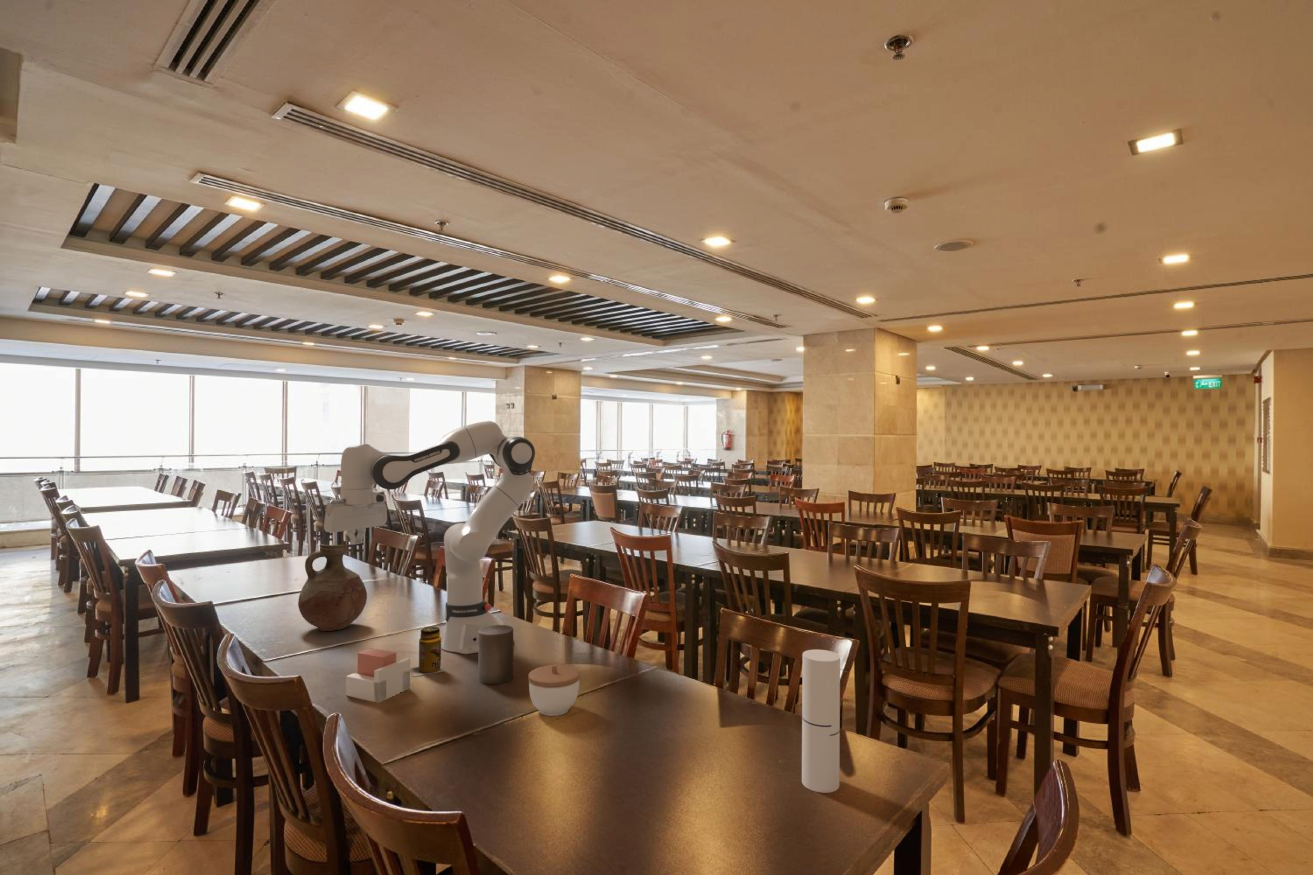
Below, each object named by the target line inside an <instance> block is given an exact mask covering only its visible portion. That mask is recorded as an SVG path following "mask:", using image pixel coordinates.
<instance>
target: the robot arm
mask: <svg viewBox="0 0 1313 875" xmlns="http://www.w3.org/2000/svg"><path fill="white" fill-rule="evenodd" d="M485 455H489V456H490V458H491V459H492V461H493V462H494V463H495V465H496V466H499V467H500V468H502V469H503V472H502V474H501V476H500V478H499V480H498V481H496V483H495V484H494V485H493V486H492V487H491V488H490V489H489V490H488V491H487V493H486V494H485V495H484V496H483V497H482V498H481V499H480V500H479V501H478V502H477V504H476V505H475V508H474V509H473V511H472V513H471V514H470V515H469V516H468V518H467V520H466V521H465V522H459V523H455V524H453V525H451V526H449V528H447V529H446V531H445V533H444V536H443V543H444V546H443V547H444V559H445V560H444V561H445V569H446V570H445V571H446V582H447V583H446V602H445V608H444V619H445V628H444V634H443V639H442V642H441V650H443V651H446V652H451V653H458V654H459V653H460V654H463V655H469V654H476V653H478V647H479V646H478V631H479V630H480V629H481V628H484V627H487V626H494V625H505V623H504V622H503V621H502V620H501V619H500V618H498V617H497V616H495V615H494V614H493V613H492V612H490V611H491V610H492V605H491V604H490V603H489V602H488V601H487V600H485V599H483V573H482V568H481V562H480V561H481V560H482V559H483V558H484V557H485V556H486V554H487V553H488V549H489V548H490V546H491V545H492V544H493V542H494V540H495V538H496V537H497V536H498V534H499V532H500V530H501V529H502V528H503V526H504V525H505V524H506V523H507V522H508V520H509V519H510V518H511V517H512V516H513V514H514V513H515V512H516V511H517V510H518V509H519V508H520V507H521V506H522V504H523V503H524V502H525V500H526V499H527V498H528V496H529V495H530V493H531V491H532V490H533V487H534V486H535V481H534V478H533V475H531V473H530V472H531V471H532V467H533V463H534V460H535V456H536V449H535V447H534V445H533V443H532V442H531V441H530V440H529V439H527V438H525V437H522V436H506V435H504V433H503V432H502V429H501V427H500V426H499V424H497V422H494V421H492V420H486V421H480V422H475V423H470V424H467V425H464V426H461V427H458V428H456V429H453V430H451V431H449V432H448V433H446V434H444V435H443V436H442V437H441V439H440V440H439V441H438V442H437V443H436V444H434V445H431V446H430V447H427V448H425V449H422V450H419V451H416V452H414V453H410V454H407V455H396V454H395V455H393V454H388V453H385V452H382V451H381V450H378V449H376V448H374V447H373V446H371V444H368V443H362V444H356V445H351V446H350V445H349V446H348V447H346V448H345V449H344V450H343V452H342V454H341V459H340V460H341V461H340V476H341V484H340V499H337V500H336V499H334V500H330V502H328V503H327V504H326V507H325V515H324V520H323V529H324V531H325V532H326V533H338V532H339V533H340V532H346V534H347V537H348V538H349V542H350V545H359V544H360V545H361V544H362V543H363V537H364V536H365V534H366V531H367V529H368V528H373V527H381V526H385V525H386V523H387V521H388V512H387V511H388V510H387V505H386V502H387V496H386V495H384V494H381V493H379V492H375V491H374V490H373V488H374V485H377V486H379V487H380V488H382V489H384V490H388V491H389V490H398V489H399V488H401V487H403V486H404V485H405V484H406V483H407V482H408V481H409V480H411V479H412V478H413V477H414V476H416V475H418V474H422V473H424V472H427V471H429V470H433V469H435V468H438V467H439V466H444V465H451V464H452V465H453V464H459V463H465V462H467V461H472V460H474V459H477V458H479V457H482V456H485ZM356 532H357V535H356Z"/></svg>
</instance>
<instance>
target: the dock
mask: <svg viewBox="0 0 1313 875" xmlns="http://www.w3.org/2000/svg"><path fill="white" fill-rule="evenodd" d="M410 668H411V659H410V658H406V657H405V658H403V659H400V660H396V662H395V663H392V664H389V665H387V666H384V667H382V668H379V669H377V670H374V677H370V676H365V675H361V674H358V673H350V674H348V675H346V676H345V696H347V697H350V698H351V697H352V698H355V699H359V700H364V701H368V702H373V703H376V704H379V703H381V702H384V701H386V700H389V699H390V697H391V698H392V696H393V697H395V696H397V695H399V694H401V693H400V692H402V693H404V692H406V691H408V690H410V688H411V686H410V685H411V672H410ZM405 690H406V691H405ZM403 691H404V692H403ZM396 694H397V695H396Z"/></svg>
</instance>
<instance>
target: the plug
mask: <svg viewBox="0 0 1313 875" xmlns="http://www.w3.org/2000/svg"><path fill="white" fill-rule="evenodd" d="M395 662H397V652H394V651H389V650H384V649H378V648H373V647H371V648H368V649H365V650H362V651H359V652H357V674H361V675H365V676H370V677H374V670H377V669H379V668H382V667H384V666H387V665H389V664H392V663H395Z"/></svg>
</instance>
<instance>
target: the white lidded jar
mask: <svg viewBox="0 0 1313 875" xmlns="http://www.w3.org/2000/svg"><path fill="white" fill-rule="evenodd" d="M580 678H581V672H580V670H579V669H578V668H576V667H574V666H570V665H566V664H565V665H564V664H552V665H551V664H550V665H544V666H540V667H537V668H534V669H533V670H531V671H530V672H529V673H528V678H527V679H528V690H529V691H528V692H529V696H530V699H531V702H532V704H533V705H534V707H535V708H536V709H537V710H538V712H539V713H540V714H541V715H543V716H548V717H557V716H558V717H559V716H561V715H564V714H566V713H568V711H569V710H570V709H571V707H572V706H573V705H574V704H575V702H576V701H577V698H578V695H579V689H580Z"/></svg>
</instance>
